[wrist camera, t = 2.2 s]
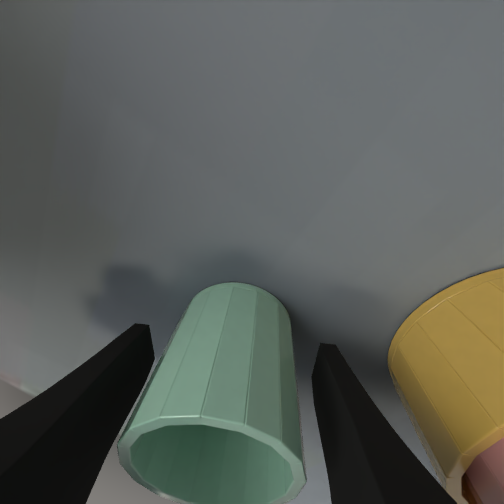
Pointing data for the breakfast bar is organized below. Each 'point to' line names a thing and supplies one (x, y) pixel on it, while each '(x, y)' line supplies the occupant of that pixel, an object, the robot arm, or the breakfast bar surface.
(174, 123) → the breakfast bar surface
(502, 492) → the stack top
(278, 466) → the mint cup
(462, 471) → the stack bottom
